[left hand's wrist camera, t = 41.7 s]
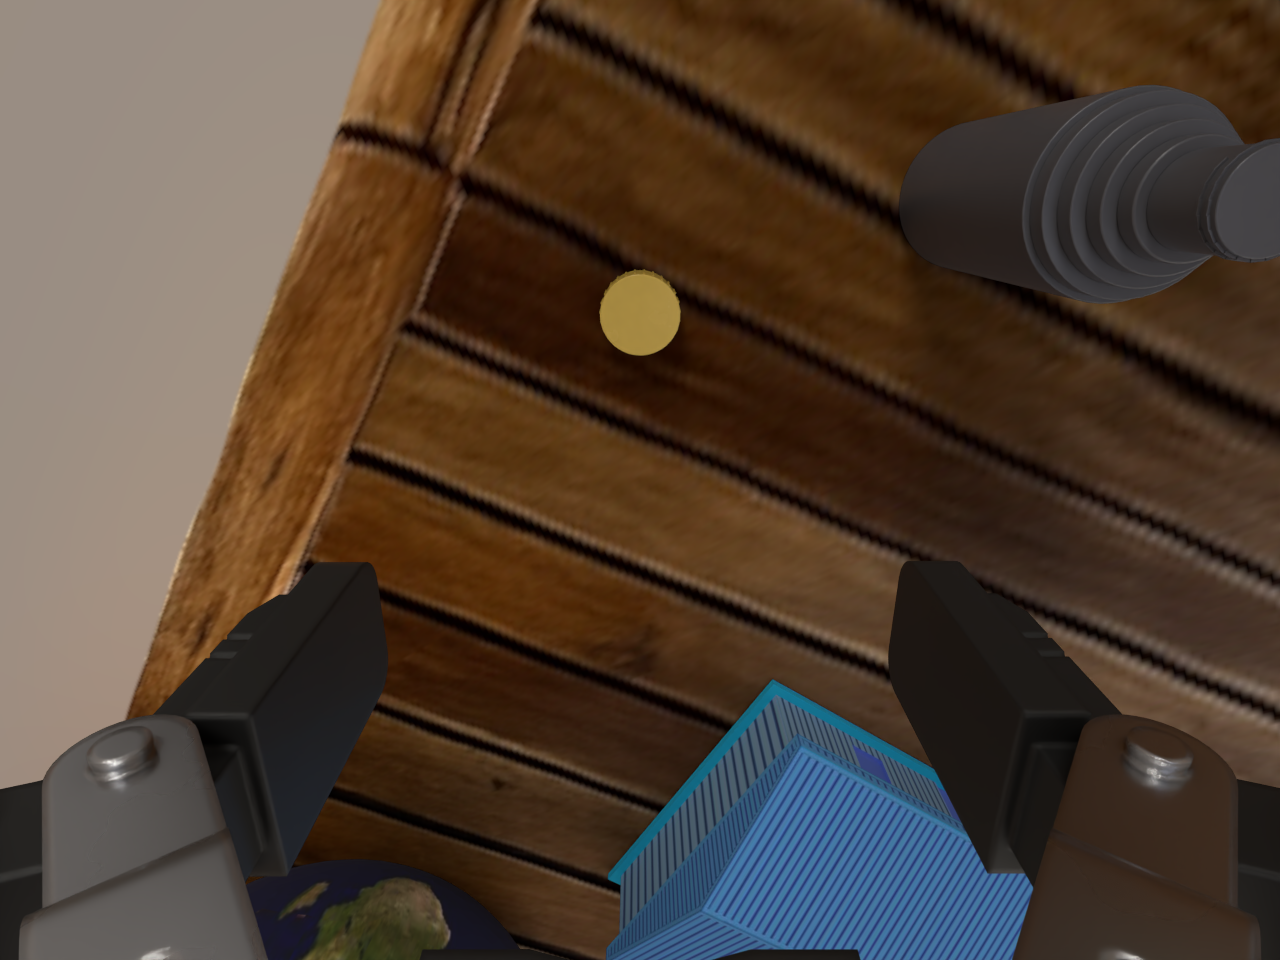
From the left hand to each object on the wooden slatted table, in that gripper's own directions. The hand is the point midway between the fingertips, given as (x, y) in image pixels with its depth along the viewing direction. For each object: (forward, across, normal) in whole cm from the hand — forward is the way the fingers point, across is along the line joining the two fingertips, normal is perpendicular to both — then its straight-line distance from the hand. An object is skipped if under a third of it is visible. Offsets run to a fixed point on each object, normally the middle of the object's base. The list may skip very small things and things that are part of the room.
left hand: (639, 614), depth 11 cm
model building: (+31, +19, -45) cm, 58 cm away
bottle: (+31, +17, +6) cm, 36 cm away
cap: (+29, 0, 0) cm, 29 cm away
